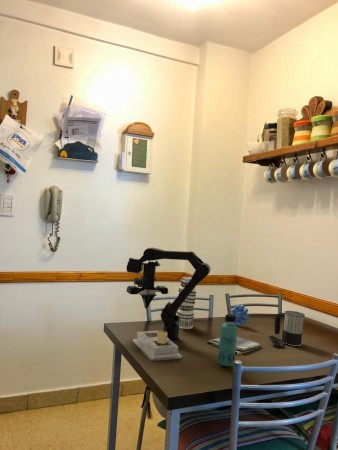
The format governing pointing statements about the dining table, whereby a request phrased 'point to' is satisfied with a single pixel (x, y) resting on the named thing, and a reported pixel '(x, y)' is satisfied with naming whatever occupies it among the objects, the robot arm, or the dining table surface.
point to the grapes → (240, 314)
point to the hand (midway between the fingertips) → (146, 308)
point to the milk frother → (289, 328)
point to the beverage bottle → (228, 341)
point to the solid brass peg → (161, 338)
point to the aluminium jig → (156, 347)
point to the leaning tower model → (186, 306)
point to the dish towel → (238, 345)
